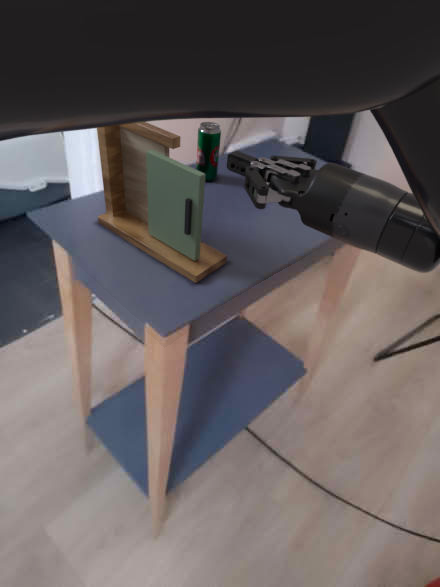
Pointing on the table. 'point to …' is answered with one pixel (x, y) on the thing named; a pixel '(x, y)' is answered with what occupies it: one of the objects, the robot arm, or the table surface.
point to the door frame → (142, 195)
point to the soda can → (208, 149)
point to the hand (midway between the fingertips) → (230, 159)
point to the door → (175, 203)
